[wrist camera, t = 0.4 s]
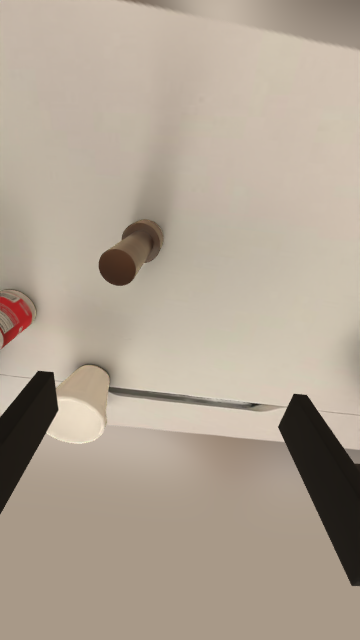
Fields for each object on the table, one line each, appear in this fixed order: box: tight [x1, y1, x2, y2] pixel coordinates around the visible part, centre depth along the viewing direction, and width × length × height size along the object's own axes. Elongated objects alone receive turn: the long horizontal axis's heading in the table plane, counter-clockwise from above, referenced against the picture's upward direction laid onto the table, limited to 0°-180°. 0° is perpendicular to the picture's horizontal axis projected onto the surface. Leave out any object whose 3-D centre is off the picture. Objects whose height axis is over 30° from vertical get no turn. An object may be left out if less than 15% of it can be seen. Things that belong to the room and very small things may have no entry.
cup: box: [46, 365, 110, 444], centre depth 37 cm, size 10×10×9 cm
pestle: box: [99, 219, 163, 286], centre depth 23 cm, size 4×4×14 cm
